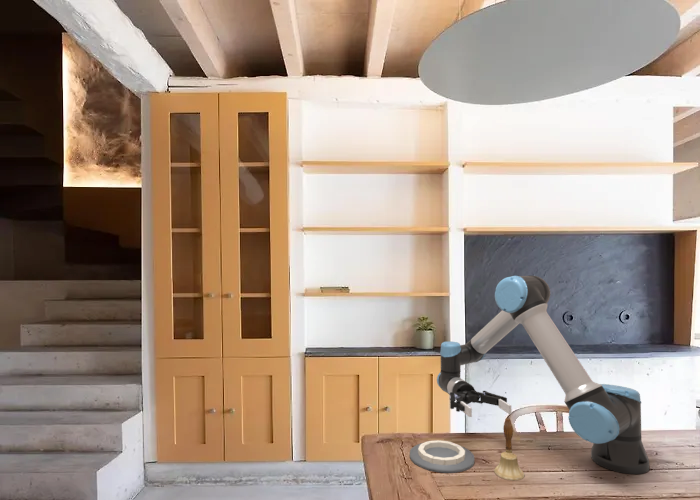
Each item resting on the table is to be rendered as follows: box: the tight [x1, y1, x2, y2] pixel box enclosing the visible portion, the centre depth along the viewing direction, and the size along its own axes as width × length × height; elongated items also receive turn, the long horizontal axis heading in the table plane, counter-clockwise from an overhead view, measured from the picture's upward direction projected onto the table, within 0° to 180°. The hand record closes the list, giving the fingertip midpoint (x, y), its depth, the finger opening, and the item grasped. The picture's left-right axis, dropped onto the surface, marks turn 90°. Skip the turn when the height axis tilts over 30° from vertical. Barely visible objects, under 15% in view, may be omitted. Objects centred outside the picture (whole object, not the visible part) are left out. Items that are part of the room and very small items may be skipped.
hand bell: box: [493, 417, 525, 482], centre depth 127 cm, size 8×8×16 cm
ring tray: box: [409, 439, 475, 474], centre depth 137 cm, size 20×20×2 cm
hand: (490, 411), depth 137 cm, fingers open, 13 cm apart
